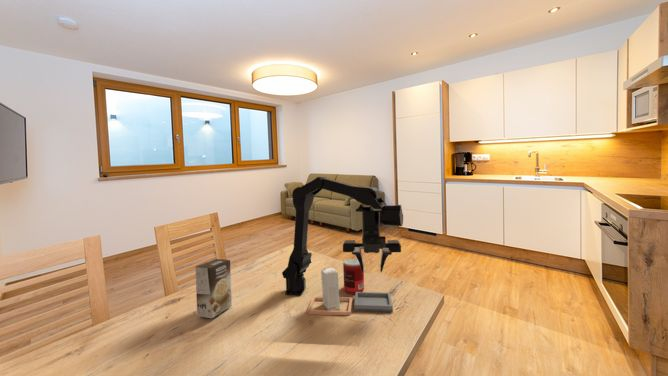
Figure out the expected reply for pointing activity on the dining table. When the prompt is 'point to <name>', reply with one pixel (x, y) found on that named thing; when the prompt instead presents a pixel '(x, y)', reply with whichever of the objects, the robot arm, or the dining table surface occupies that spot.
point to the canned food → (353, 276)
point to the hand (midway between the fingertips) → (372, 271)
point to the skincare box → (330, 289)
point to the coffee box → (213, 287)
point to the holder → (330, 312)
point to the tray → (373, 302)
